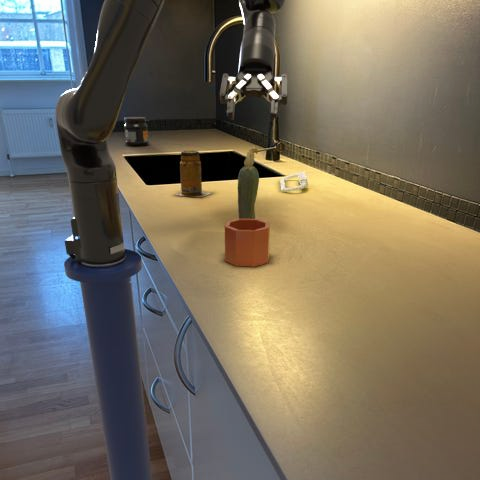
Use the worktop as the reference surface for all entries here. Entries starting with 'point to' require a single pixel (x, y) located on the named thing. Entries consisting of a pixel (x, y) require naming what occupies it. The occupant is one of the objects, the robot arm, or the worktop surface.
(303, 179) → the white open frame
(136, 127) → the supplement container
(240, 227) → the utensil pot
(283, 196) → the worktop surface
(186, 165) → the condiment
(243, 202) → the vegetable
